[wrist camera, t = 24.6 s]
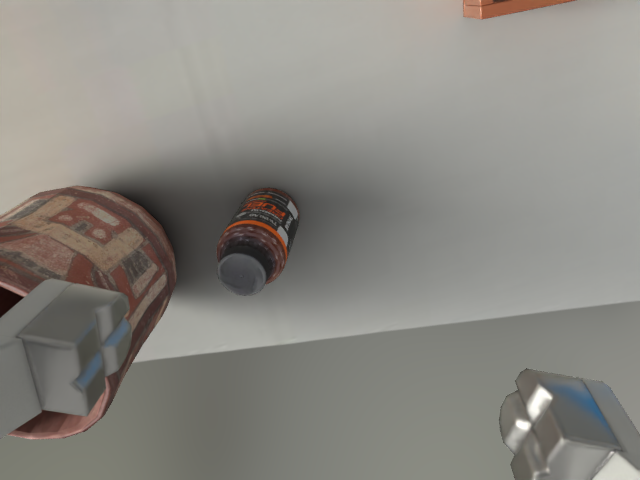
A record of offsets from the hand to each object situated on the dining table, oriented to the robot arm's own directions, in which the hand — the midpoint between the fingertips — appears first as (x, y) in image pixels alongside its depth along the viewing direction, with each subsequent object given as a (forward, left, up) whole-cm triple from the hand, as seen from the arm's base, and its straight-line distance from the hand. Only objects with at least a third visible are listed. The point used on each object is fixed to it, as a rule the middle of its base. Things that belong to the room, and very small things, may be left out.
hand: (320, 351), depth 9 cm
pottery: (-4, -30, -31) cm, 44 cm away
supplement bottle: (+4, -14, -31) cm, 35 cm away
